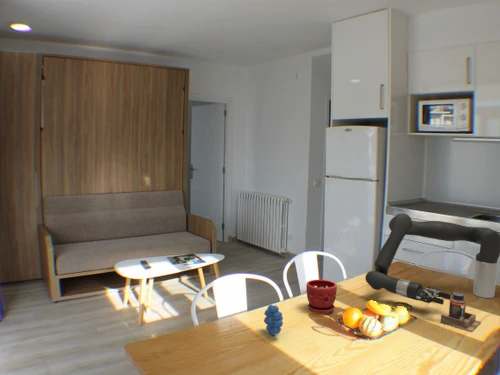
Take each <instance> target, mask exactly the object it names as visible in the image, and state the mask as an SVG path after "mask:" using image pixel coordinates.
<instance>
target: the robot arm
mask: <svg viewBox="0 0 500 375" xmlns="http://www.w3.org/2000/svg"><path fill="white" fill-rule="evenodd" d="M388 228H389V230H390V233H389V235H388V237H387V239H386V241H385V243H384V244H383V245H382V248H381V249H380V251H379V252H378V255H377V257H376V259H375V260H374V268H375V269H374V270H371V271H367V273H366V274H365V282H366V283H367V285H369V286H370V287H371V289H373V290H375V291H379V290H382V289H384V290H385V291H387V292H389V293H391V294H395V295H398V296H400V297H404V298H406V299H407V298H408V299H411V300H415V301H419V302H420V301H421V302H423V303H426V304H431V303H432V304H438V305H444V303H445V302H444V301H445V300H444V299H446V300H450V298H452V294H451V293H448V292H443V290H442V289H440V288H435V287H431V286H427V288H424V287H423V284H422V283H421V282H416V281H412V280H409V279H401V278H397V277H392V276H390V275H388V274H389V269H390V268H391V265H392V262H393V260H394V258H395V256H396V253H397V251H398V249H399V247H400V245H401V243H402V241H403V240H404V238H405V236H417V237H423V238H426V239H427V238H428V239H433V240H438V241H445V242H458V241H459V242H463V241H465V242H468V243H469V242H470V243H474V244H478V245H480V248H479V252H478V253H476V254H475V263H474V264H475V265H474V275H473V276H474V277H473V290H472V293H473V295H475V296H477V297H479V298H485V299H493V298H495V293H496V283H497V282H496V280H497V270H498V269H497V268H498V260H499V258H500V233H499V232H498V231H497V230H495V229H492V228H489V227H481V226H480V227H479V226H466V225H462V224H458V223H453V222H447V221H442V220H425V221H424V220H423V221H417V220H412V217H410V215H408V214H407V213H403V212H401V213H397V214H396V215H395V216H393V217H392V218H391V219H390V221H389V223H388Z"/></svg>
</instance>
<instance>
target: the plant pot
mask: <svg viewBox="0 0 500 375" xmlns="http://www.w3.org/2000/svg"><path fill="white" fill-rule="evenodd" d="M305 284H306V285H305V288H306V297H307V301H308V304H307V307H308V310H310V311H311V312H314V313H317V314H330V313H332V312H333V311H334V310H335V307H336V306H335V305H334V304H335V301H336V298H337V290H338V286H337V283H336V282H334V281H332V280H326V279H312V280H308V281H307V282H306V283H305Z"/></svg>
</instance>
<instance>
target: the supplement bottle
mask: <svg viewBox="0 0 500 375" xmlns="http://www.w3.org/2000/svg"><path fill="white" fill-rule="evenodd" d="M464 296H465V295H464V294H463V293H461V292H453V293H452V296H451V298H450V299H449V306H448V307H449V309H448V310H449V311H448V315H449V317H452V318H456V319H459V320H463V321H464V320H465V312H466V306H467V304H466V302H467V301H466V300H465V299H464Z"/></svg>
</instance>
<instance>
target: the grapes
mask: <svg viewBox="0 0 500 375" xmlns="http://www.w3.org/2000/svg"><path fill="white" fill-rule="evenodd" d="M264 316H265V318H264V319H263V323H265V324H266V327H265V330H266V331H267V332H269V334H270V335H271V336H276V335H278V334H280V333H281V331H282V328H281V327H283V324H284V322H283V320H284V317H283V313H282V312H281V311H280V310H279V307H278V306H277V305H273V304H269V305H268V306H267V309H266V310H265V311H264Z"/></svg>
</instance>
